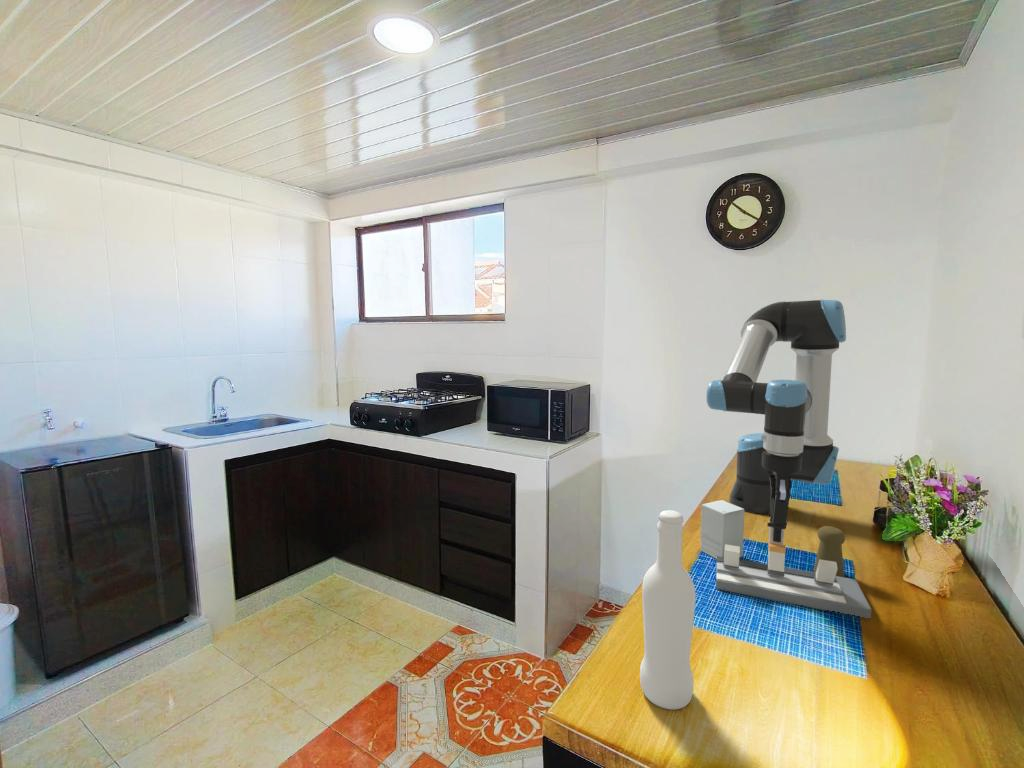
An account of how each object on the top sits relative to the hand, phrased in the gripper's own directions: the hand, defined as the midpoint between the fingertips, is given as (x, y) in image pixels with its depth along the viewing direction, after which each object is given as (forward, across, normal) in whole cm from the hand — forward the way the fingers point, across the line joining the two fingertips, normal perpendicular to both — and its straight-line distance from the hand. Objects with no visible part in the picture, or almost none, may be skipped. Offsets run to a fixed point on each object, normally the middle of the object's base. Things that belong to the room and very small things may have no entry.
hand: (775, 553), depth 104 cm
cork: (+7, -10, +12) cm, 17 cm away
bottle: (+7, +42, -19) cm, 47 cm away
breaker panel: (+7, +2, +2) cm, 8 cm away
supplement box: (+8, -10, -11) cm, 17 cm away
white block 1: (+4, +1, -9) cm, 10 cm away
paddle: (+4, +1, 0) cm, 4 cm away
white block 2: (+4, +1, +9) cm, 10 cm away
